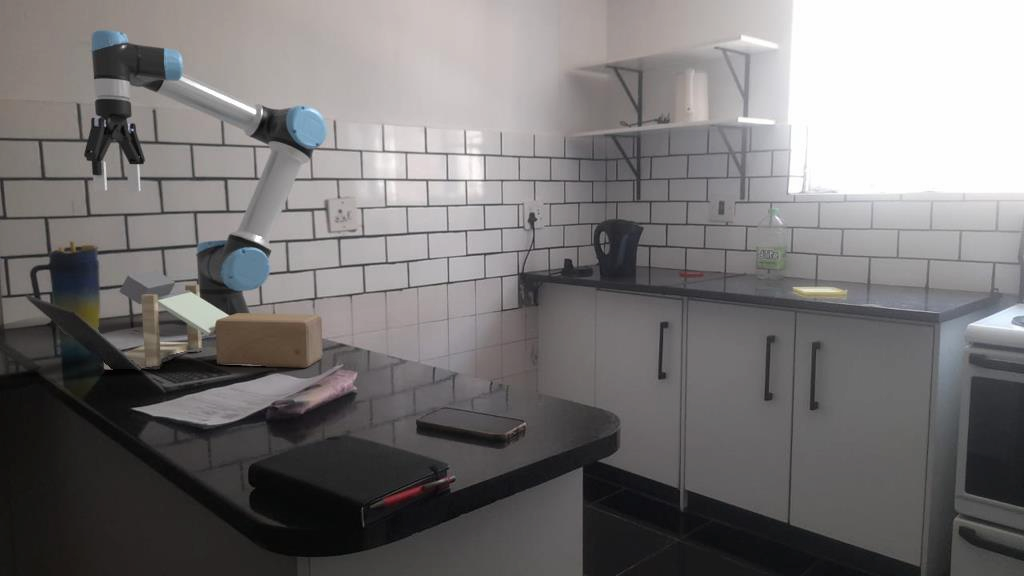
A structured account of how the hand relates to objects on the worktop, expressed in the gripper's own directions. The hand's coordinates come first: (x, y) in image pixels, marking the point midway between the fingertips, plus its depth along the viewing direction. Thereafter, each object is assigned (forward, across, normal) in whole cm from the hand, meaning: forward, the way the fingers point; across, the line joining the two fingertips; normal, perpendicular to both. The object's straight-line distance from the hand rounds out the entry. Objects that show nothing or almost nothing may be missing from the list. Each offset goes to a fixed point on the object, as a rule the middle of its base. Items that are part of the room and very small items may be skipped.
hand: (118, 190), depth 175 cm
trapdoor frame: (+37, +19, +18) cm, 45 cm away
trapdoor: (+27, +19, +23) cm, 40 cm away
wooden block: (+32, +19, +34) cm, 50 cm away
